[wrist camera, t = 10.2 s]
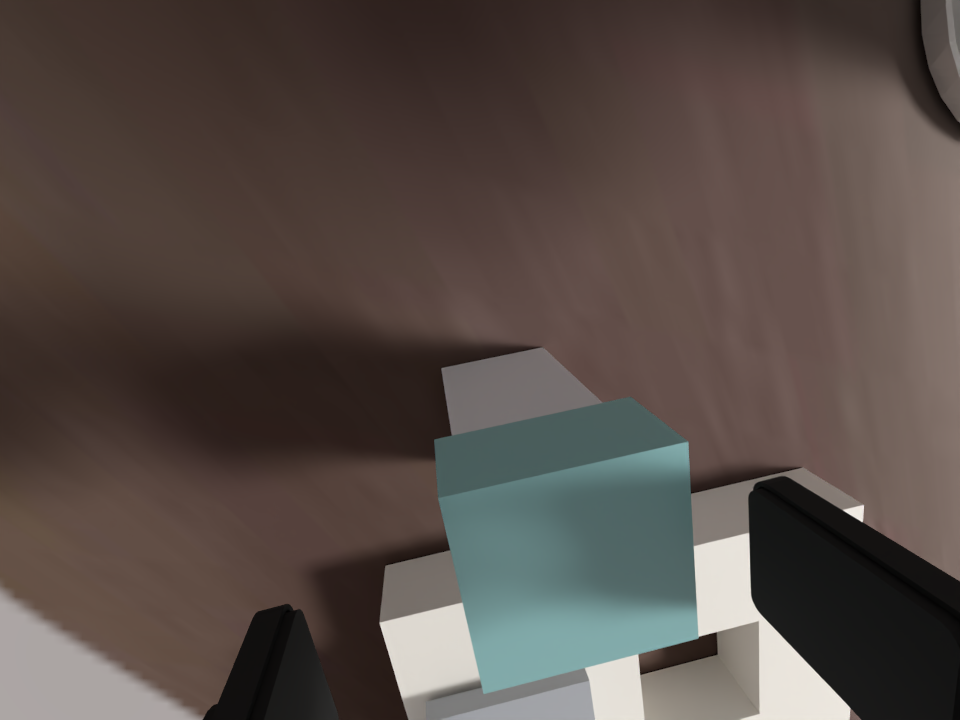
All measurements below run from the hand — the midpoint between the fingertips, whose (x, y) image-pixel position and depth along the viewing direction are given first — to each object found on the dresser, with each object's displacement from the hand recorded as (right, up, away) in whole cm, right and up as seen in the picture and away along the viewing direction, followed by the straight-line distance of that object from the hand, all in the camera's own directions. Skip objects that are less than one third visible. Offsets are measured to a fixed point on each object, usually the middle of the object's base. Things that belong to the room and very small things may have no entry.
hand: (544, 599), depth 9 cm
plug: (0, +3, +9) cm, 9 cm away
